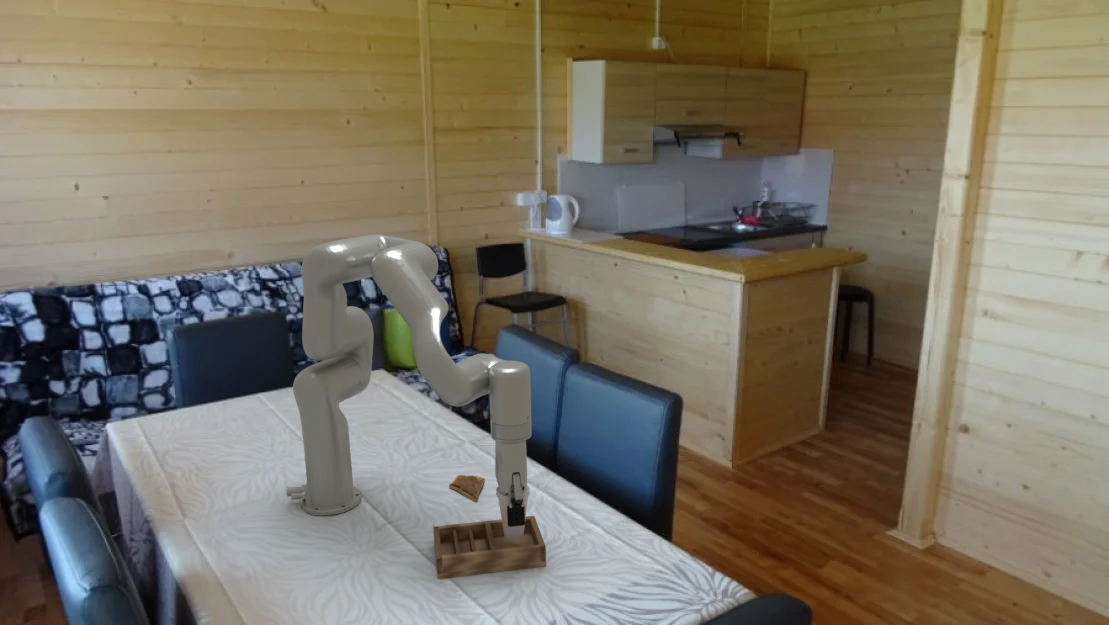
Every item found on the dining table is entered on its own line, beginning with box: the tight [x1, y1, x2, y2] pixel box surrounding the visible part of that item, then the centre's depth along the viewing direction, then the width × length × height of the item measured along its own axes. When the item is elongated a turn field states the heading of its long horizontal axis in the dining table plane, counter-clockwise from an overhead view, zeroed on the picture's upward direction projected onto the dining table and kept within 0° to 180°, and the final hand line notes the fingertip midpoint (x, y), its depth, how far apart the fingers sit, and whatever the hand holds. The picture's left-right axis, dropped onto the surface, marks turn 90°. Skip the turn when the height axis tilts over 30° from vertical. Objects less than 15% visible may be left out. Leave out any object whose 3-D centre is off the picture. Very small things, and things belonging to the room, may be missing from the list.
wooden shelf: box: [432, 515, 547, 580], centre depth 151 cm, size 20×12×4 cm, turn 101°
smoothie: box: [495, 484, 531, 540], centre depth 150 cm, size 6×6×14 cm
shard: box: [448, 474, 486, 503], centre depth 178 cm, size 11×8×2 cm
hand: (513, 515), depth 150 cm, fingers closed on smoothie, 6 cm apart
